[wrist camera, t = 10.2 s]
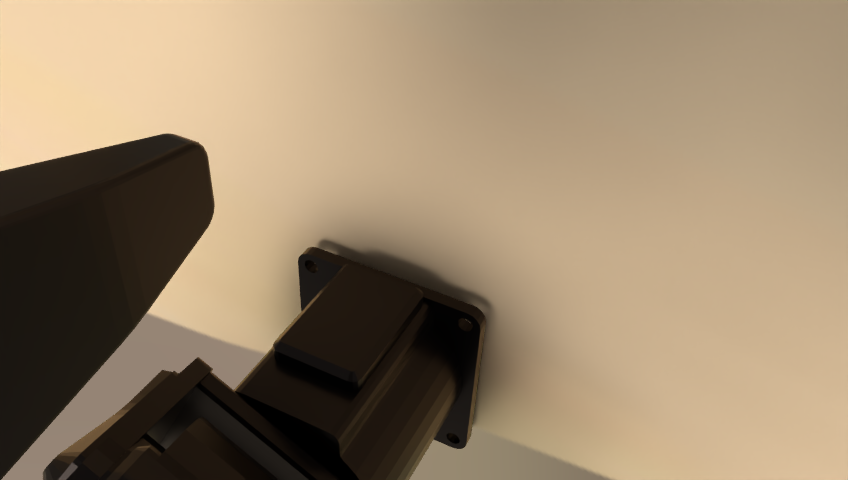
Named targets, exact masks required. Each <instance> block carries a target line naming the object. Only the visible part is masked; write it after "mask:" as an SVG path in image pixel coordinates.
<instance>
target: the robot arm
mask: <svg viewBox="0 0 848 480" xmlns="http://www.w3.org/2000/svg"><path fill="white" fill-rule="evenodd" d="M213 213H214V196H213V189H212V182H211V175H210V168H209V161H208V156H207V152H206V151H205V149H204V147H203V146H202V145H201V144H199V143H198V142H196V141H193V140H190V139H187V138H184V137H181V136H178V135H175V134H161V135H157V136H153V137H148V138H144V139H140V140H135V141H131V142H126V143H122V144H118V145H113V146H109V147H105V148H100V149H96V150H92V151H87V152H83V153H78V154H74V155H70V156H65V157H61V158H57V159H52V160H48V161H44V162H39V163H35V164H30V165H26V166H22V167H17V168H13V169H9V170H4V171H0V480H1V479H2V478H3V476H5V475H6V473H7V472H8V471H9V470H10V469H11V468H12V467H13V465H14V464H15V463H16V462H17V461H18V460H19V459H20V458H21V456H22V455H23V454H24V453H25V452H26V451H27V450H28V449H29V447H30V446H31V445H32V444H33V443H34V442H35V441H36V439H37V438H38V437H39V436H40V435H41V434H42V433H43V432H44V431H45V429H46V428H47V427H48V426H49V425H50V424H51V423H52V422H53V420H54V419H55V418H56V417H57V416H58V415H59V413H61V411H62V410H63V409H64V408H65V407H66V406H67V405H68V404H69V402H70V401H71V400H72V399H73V398H74V397H75V396H76V395H77V393H78V392H79V391H80V390H81V389H82V388H83V387H84V385H85V384H86V383H87V382H88V380H90V379H91V378H92V376H93V375H94V374H95V373H96V372H97V371H98V370H99V369H100V367H101V366H102V365H103V364H104V363H105V362H106V361H107V360H108V358H109V357H110V356H111V355H112V354H113V353H114V352H115V350H116V349H117V348H118V347H119V346H120V345H121V344H122V343H123V341H124V340H125V339H126V338H127V337H128V335H129V334H130V333H131V332H132V331H133V329H134V328H135V327H136V326H137V324H138V323H139V322H140V320H141V319H142V318H143V316H144V315H145V314H146V313H147V311H148V310H149V309H150V307H151V306H152V304H153V303H154V302H155V300H156V299H157V297H158V296H159V295H160V293H161V292H162V290H163V289H164V288H165V286H166V285H167V283H168V282H169V281H170V279H171V278H172V277H173V275H174V274H175V272H176V271H177V270H178V268H179V267H180V265H181V264H182V263H183V261H184V260H185V258H186V257H187V256H188V254H189V253H190V251H191V250H192V249H193V247H194V246H195V244H196V243H197V242H198V240H199V239H200V238H201V236H202V235H203V233H204V232H205V231H206V229H207V228H208V226H209V224H210V222H211V220H212V217H213ZM298 266H299V281H300V296H301V311H302V312H301V313H300V314H299V315H298V316H297V318H296V319H295V320H294V321H293V322H292V323H291V324H290V325H289V326H288V327H287V329H286V330H285V331H284V332H283V333H282V334H281V335H280V336H279V337H278V339H277V340H276V341H275V343H274V345H273V347H272V348H271V350H270V351H269V352H268V353H267V354H266V355H265V356H264V357H263V358H262V360H261V361H260V362H259V363H258V364H257V365H256V366H255V367H254V368H253V370H252V371H251V372H250V373H249V374H248V375H247V376H246V377H245V378H244V380H243V381H242V382H241V383H240V384H239V385H238V386H237V387H236V389H235V390H232V389H231V388H230V387H229V386H228V385H226V384H225V383H224V382H223V381H222V380H220V379H219V378H218V377H217V376H216V375H214V374H213V373H212V370H213V369H212V368H211V367H210V366H209V365H207V364H206V363H205V362H204V361H203V360H201V359H200V358H199V357H198V358H197V359H195V360H194V361H193V362H192V363H191V364H190V365H188V366H187V367H186V368H185V369H184V370H183V371H182V372H180V373H176V372H175V371H173V372H169V371H164V370H162V371H161V372H160V373H159V374H158V375H157V376H156V377H155V378H154V379H153V380H152V381H151V382H150V383H149V384H147V386H145V387H144V389H142V391H140V393H138V394H137V395H136V396H135V397H134V398H133V399H132V400H131V401H130V402H129V403H128V404H127V405H125V406H124V407H123V408H122V409H121V410H120V411H118V412H117V413H116V414H115V415H113V416H112V417H111V418H109V419H108V420H106V421H105V422H104V423H102V424H101V425H99V426H98V427H96V428H95V429H94V430H92V431H91V432H90V433H88V434H87V435H85V436H84V437H83V438H81V439H80V440H78V441H77V442H76V443H74V444H73V445H71V446H70V447H69V448H67V449H66V450H64V451H63V452H61V453H60V454H59V455H58V456H57V457H56V458H55V459H54V460H53V461H52V462H51V463H50V464H49V465H48V466H47V467H46V469H45V470H44V472H43V480H409V479H410V477H411V475H412V474H413V472H414V471H415V469H416V467H417V466H418V464H419V462H420V461H421V459H422V457H423V455H424V454H425V452H426V451H427V449H428V447H429V446H430V444H431V442H432V441H433V439H434V440H437V441H439V442H441V443H444V444H446V445H448V446H451V447H453V448H457V449H462V448H464V447H465V446H466V444H467V442H468V440H469V439H470V436H471V431H472V424H473V416H474V409H475V401H476V393H477V386H478V378H479V371H480V363H481V356H482V348H483V340H484V333H485V325H486V320H485V316H484V314H483V313H482V312H481V311H480V310H479V309H478V308H477V307H475V306H473V305H471V304H468V303H465V302H462V301H460V300H457V299H454V298H452V297H449V296H446V295H443V294H441V293H438V292H435V291H433V290H430V289H427V288H425V287H422V286H419V285H416V284H414V283H411V282H408V281H406V280H403V279H400V278H397V277H395V276H392V275H389V274H387V273H384V272H381V271H379V270H376V269H373V268H370V267H368V266H365V265H362V264H360V263H357V262H354V261H351V260H349V259H346V258H343V257H341V256H338V255H335V254H332V253H330V252H327V251H324V250H322V249H319V248H315V247H310V248H308V249H307V250H306V251H305V252H304V253H303V254H302V255H301V256H300V257H299V260H298ZM465 319H467V320H469V321H470V322H471V323H469V322H468V321H466V320H465Z"/></svg>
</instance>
